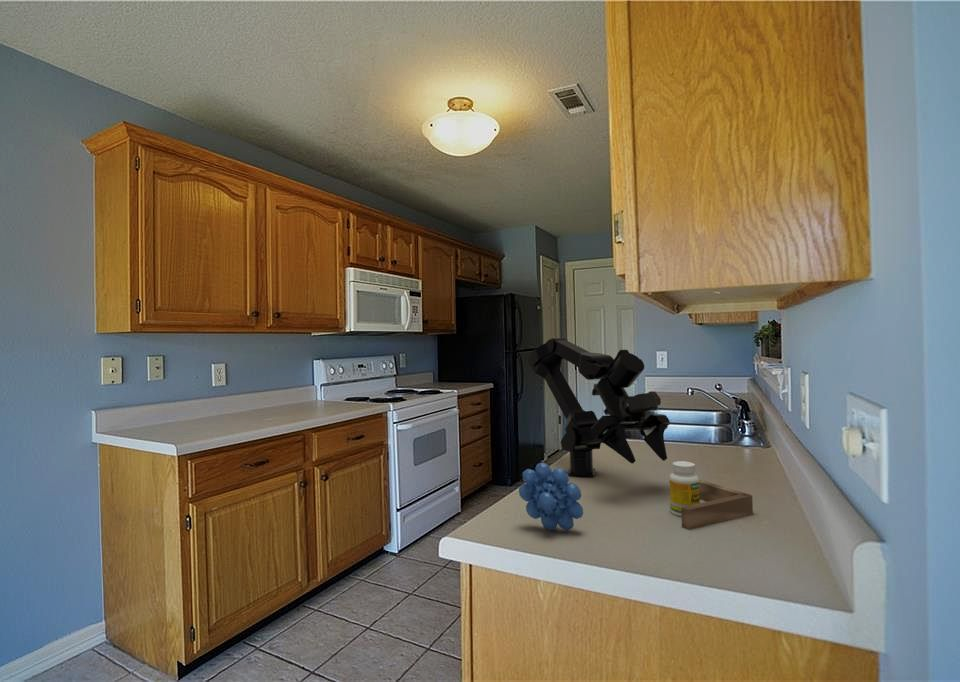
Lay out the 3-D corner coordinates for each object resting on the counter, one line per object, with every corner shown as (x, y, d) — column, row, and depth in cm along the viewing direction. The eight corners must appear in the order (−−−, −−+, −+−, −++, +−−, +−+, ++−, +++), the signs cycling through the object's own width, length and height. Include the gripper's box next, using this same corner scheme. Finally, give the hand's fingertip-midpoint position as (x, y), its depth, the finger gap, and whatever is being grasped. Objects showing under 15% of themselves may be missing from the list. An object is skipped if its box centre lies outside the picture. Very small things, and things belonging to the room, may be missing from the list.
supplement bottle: (675, 506, 99) (674, 458, 99) (703, 512, 95) (702, 462, 95) (666, 514, 94) (664, 464, 95) (695, 520, 91) (693, 468, 91)
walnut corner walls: (625, 503, 101) (624, 486, 101) (684, 491, 108) (684, 475, 108) (689, 529, 86) (688, 509, 86) (753, 513, 93) (752, 495, 93)
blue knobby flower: (513, 535, 86) (511, 467, 86) (523, 521, 92) (521, 458, 93) (579, 543, 82) (577, 471, 82) (585, 528, 88) (583, 461, 88)
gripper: (604, 377, 102) (640, 442, 93) (667, 379, 111) (705, 438, 102) (577, 408, 109) (607, 471, 100) (638, 407, 118) (671, 465, 109)
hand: (649, 461), depth 102 cm, fingers open, 9 cm apart
